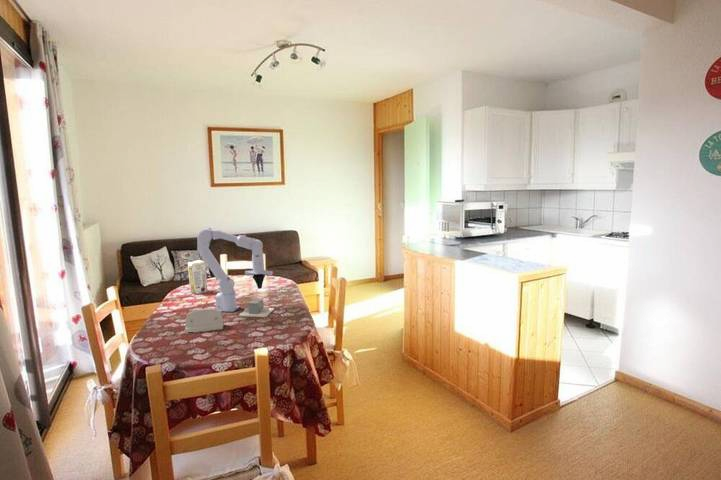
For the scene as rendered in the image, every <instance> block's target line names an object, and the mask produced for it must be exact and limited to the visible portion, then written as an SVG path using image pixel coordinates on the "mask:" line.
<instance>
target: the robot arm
mask: <svg viewBox="0 0 721 480" xmlns="http://www.w3.org/2000/svg"><path fill="white" fill-rule="evenodd" d="M196 239H197V241H196V242H197V243H196V244H197V247H196V249H197V251H198V253H199V254H200V256H201V257H202V259H203V261H204V262H205V265H207V266H208V269H209V270H210V271H211V272H212V274H213V276H214V277H215V279H216V280H217V284H218V286H219V291H220V292H218V293H217V294H216V296H215V304H216V310H220V311H221V312H230V313H231V312H232V313H233V312H235V311H236V310H237V309H239V308H241V307H240V305H237V298H236V297H237V296H236V290H235V289H234V287H235V286H236V285H235V284H236V283H235V281H234V279H233V278H231V277H229V275H228V274H227V273H226V272H225V271H224V269H223V268H222V266H221V264H220V263H219V261H218V260H217V259H216V257H215V255H214V254H213V253H212V251H211V249H210V244H211V241H212V239H213V241H214V240H218V239H219V240H220V239H221V240H225V241H228V242H231V243H235V244H236V246H237V247H241V248H245V249H247V250H250V251H251V253H252V254H251V263H252V270H245V271H244V275H245V276H252V279H253V280H254V283H255V284H256V286H257V289H258V290H259V289H262V288H263V283H264V281H265V277H266V276H273V273H274V272H273V270H266V269H265V264H264V263H265V262H264V250H263V248H264V246H263V245H264V244H263V241H261V240H260V239H258V238H255V237H253V238H252V237H249V236H247V235H246V234H243V235H242V234H241V235H240V234H239V235H238V236H237V235H234V234H231V233H228V232H226V231H222V230H220V229H216V228H212V227H204V228H203V229H202V230H200V231H199V232H198V234H197V237H196Z"/></svg>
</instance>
